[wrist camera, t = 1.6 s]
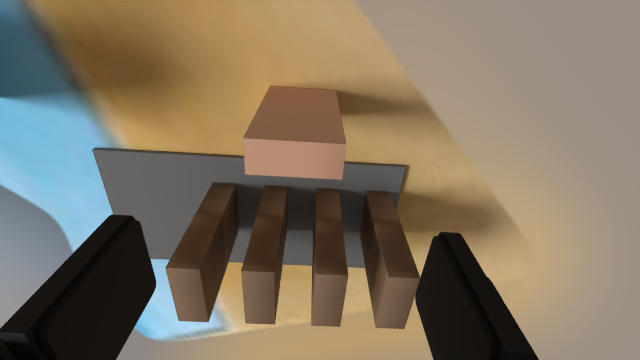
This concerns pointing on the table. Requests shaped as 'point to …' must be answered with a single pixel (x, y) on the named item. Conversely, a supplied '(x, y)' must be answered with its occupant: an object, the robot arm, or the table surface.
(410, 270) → the domino
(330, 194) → the domino
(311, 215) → the mat
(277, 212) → the domino
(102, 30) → the table surface
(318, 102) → the domino
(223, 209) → the domino
